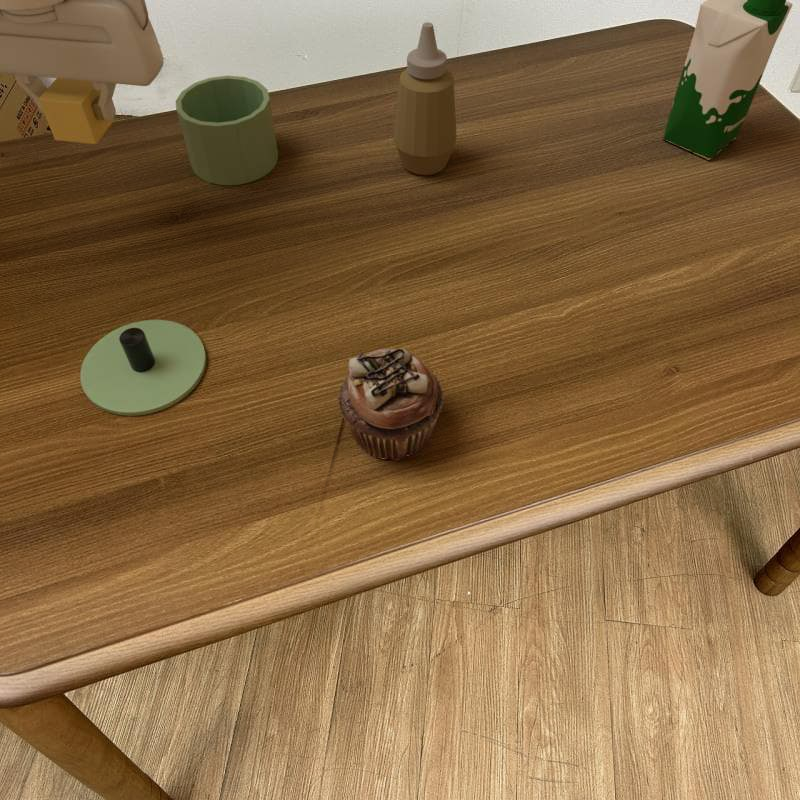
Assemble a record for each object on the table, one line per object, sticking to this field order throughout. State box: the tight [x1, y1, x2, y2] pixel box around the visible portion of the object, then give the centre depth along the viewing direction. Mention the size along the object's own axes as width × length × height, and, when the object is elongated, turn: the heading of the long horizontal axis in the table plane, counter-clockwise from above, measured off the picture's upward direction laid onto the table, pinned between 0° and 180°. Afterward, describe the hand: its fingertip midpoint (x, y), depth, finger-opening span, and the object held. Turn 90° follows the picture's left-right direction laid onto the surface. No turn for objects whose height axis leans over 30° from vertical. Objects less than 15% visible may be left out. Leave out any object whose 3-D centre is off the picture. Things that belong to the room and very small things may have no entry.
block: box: [38, 78, 115, 145], centre depth 75 cm, size 4×4×4 cm
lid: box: [79, 319, 207, 417], centre depth 74 cm, size 12×12×5 cm
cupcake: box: [337, 348, 445, 461], centre depth 68 cm, size 10×10×10 cm
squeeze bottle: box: [393, 21, 457, 176], centre depth 91 cm, size 8×8×18 cm
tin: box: [175, 75, 279, 186], centre depth 95 cm, size 11×11×8 cm
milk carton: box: [662, 0, 793, 158], centre depth 93 cm, size 9×9×20 cm
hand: (79, 114), depth 75 cm, fingers closed on block, 4 cm apart
